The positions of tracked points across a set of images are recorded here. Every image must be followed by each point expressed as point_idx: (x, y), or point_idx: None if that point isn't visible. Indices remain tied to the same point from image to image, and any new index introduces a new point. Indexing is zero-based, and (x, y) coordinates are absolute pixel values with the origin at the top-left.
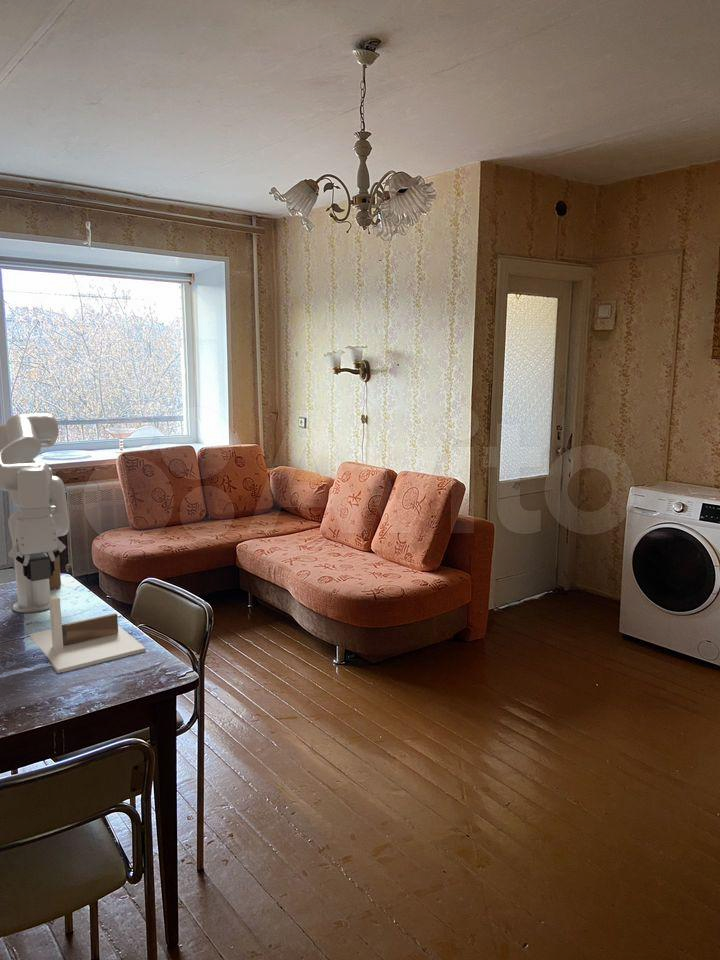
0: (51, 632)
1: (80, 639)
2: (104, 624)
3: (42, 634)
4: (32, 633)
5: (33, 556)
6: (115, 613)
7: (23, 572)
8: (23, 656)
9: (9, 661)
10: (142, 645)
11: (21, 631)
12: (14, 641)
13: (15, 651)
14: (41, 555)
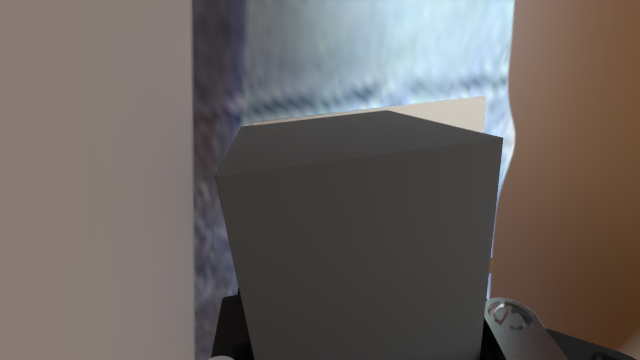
0: None
1: None
2: None
3: None
4: (264, 123)
5: (350, 298)
6: (494, 262)
7: (221, 309)
8: (230, 257)
9: (196, 274)
10: None
11: (234, 45)
12: (210, 132)
13: (211, 215)
14: (445, 291)
